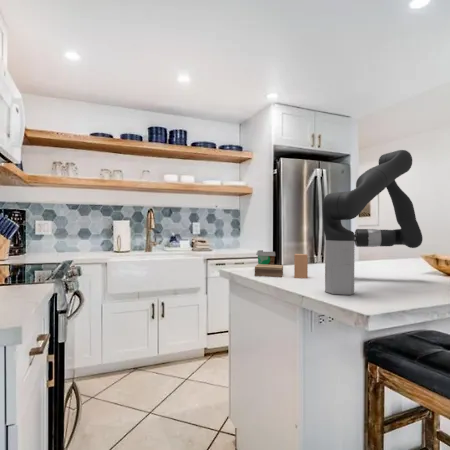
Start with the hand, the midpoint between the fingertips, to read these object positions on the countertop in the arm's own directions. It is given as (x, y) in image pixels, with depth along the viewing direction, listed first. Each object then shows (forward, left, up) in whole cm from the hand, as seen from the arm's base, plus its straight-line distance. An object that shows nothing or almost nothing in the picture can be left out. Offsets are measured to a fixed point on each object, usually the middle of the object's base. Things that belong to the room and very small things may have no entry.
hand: (327, 237), depth 143 cm
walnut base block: (+4, +25, -17) cm, 31 cm away
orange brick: (0, +11, -17) cm, 21 cm away
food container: (+17, +29, -18) cm, 38 cm away
